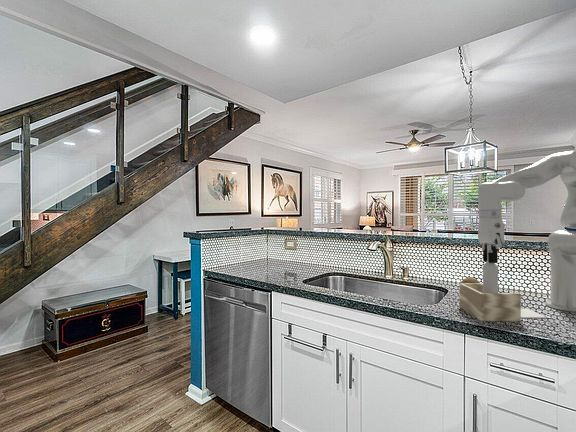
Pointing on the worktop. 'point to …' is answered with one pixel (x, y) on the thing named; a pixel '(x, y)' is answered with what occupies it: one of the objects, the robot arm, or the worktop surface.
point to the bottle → (490, 276)
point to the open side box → (489, 303)
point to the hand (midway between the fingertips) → (490, 261)
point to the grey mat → (530, 314)
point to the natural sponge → (470, 280)
